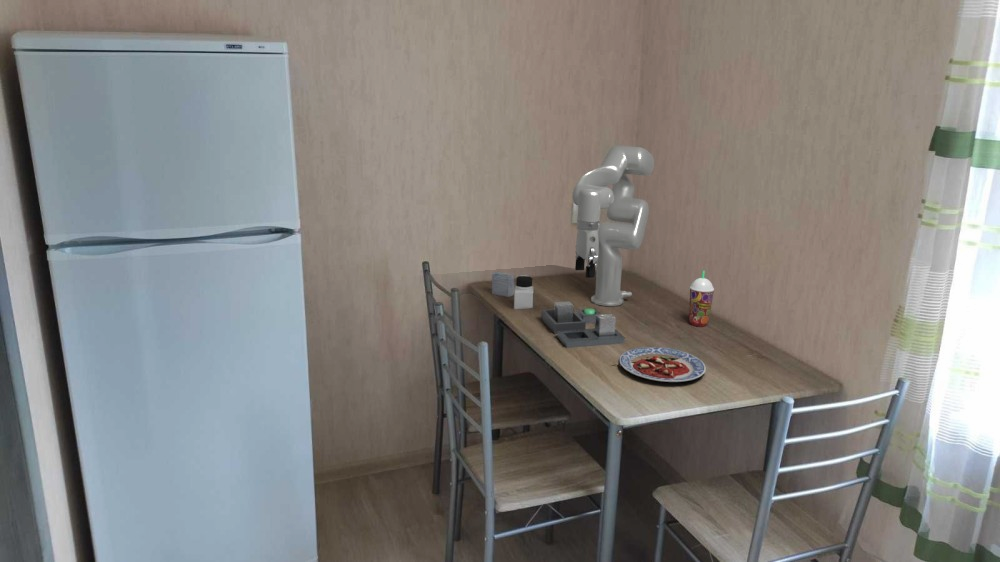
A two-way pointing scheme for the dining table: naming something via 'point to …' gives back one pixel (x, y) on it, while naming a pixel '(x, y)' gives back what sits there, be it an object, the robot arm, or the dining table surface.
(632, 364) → the ceramic plate
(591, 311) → the button
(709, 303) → the smoothie
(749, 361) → the dining table surface
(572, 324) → the tote
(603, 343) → the pallet
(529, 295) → the medicine bottle
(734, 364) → the dining table surface
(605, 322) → the billet
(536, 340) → the dining table surface
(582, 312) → the button housing
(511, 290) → the medicine box
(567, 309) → the billet
